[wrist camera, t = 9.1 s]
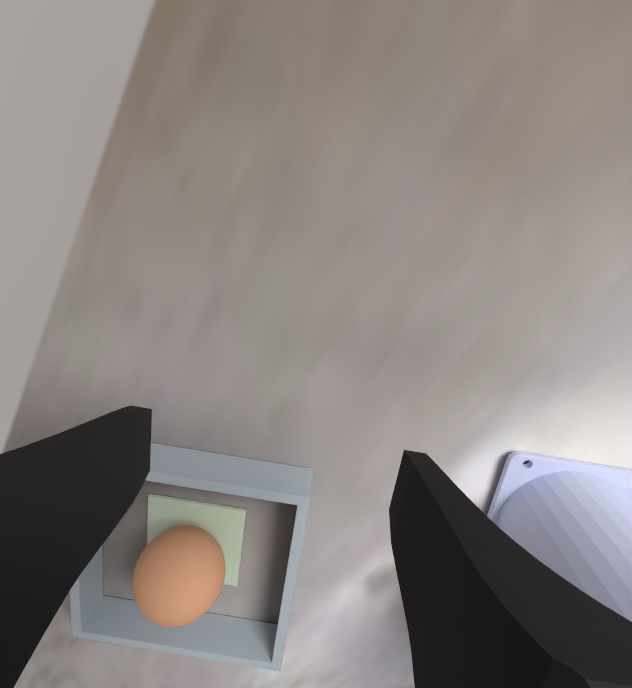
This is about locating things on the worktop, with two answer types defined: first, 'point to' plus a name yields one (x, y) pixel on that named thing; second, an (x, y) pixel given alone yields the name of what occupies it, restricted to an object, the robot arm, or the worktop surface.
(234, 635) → the grey shallow square tray
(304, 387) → the worktop surface
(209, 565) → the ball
